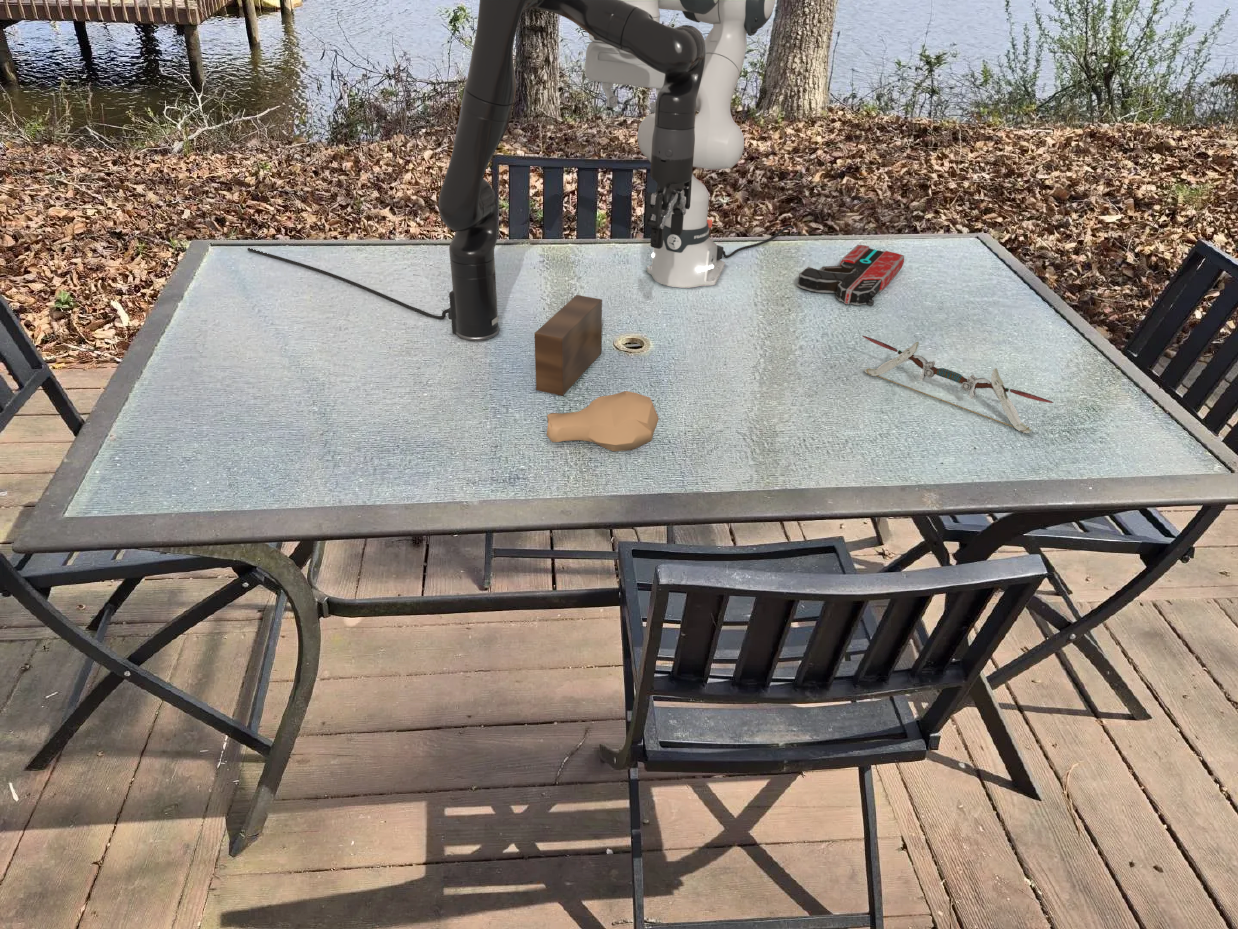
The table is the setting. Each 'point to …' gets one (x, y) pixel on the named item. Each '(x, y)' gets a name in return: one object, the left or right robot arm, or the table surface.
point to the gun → (854, 275)
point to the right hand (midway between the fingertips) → (633, 109)
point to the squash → (608, 422)
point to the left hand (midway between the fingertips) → (666, 240)
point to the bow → (967, 384)
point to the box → (568, 344)
